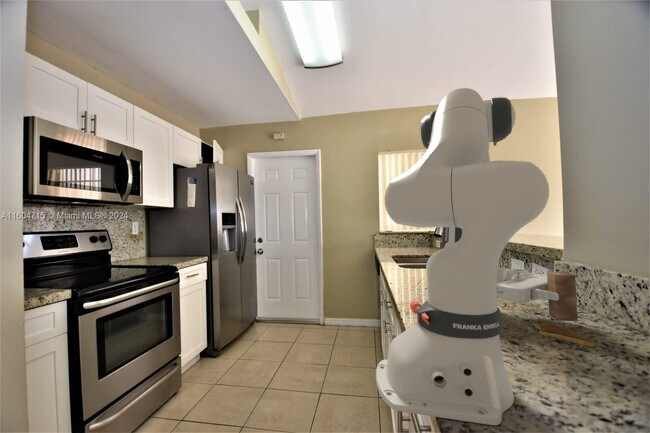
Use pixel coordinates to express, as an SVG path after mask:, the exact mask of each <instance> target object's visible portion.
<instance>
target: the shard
mask: <svg viewBox="0 0 650 433" xmlns="http://www.w3.org/2000/svg"><path fill="white" fill-rule="evenodd" d="M533 326H534V327H535V328H537V330H539V332H538V333H539V335H542V336H547V337H550V338H551V337H552V338H556V339H559V340H563V341H567V342H571V343H574V344H578V345H582V346H587V347H593V348H595V345H597V344H598V343H597V342H594V341H593V340H590V339H588V338H586V337H585V336H584V335H582V334H580V333H579V332H576V331H574V330H573V329H570V328H568V327H565V326H563V325H559V324H555V323H533Z"/></svg>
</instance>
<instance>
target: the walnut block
mask: <svg viewBox="0 0 650 433" xmlns="http://www.w3.org/2000/svg"><path fill="white" fill-rule="evenodd" d="M546 276H547V282H548V291H554V292H559V293H560V294H561V296H560V297H561V299H559V300H557V301H556V300H550V299H547V302H548V315H549V316H551V317H552V318H553V319H555V320H556V321H564V322H578V320H579V319H578V316H579V315H578V303H577V302H578V299H577V281H576V280H577V278H576V275H575V274H572V273H570V272H567V271H546Z"/></svg>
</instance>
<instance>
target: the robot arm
mask: <svg viewBox="0 0 650 433" xmlns="http://www.w3.org/2000/svg"><path fill="white" fill-rule="evenodd" d="M481 96H482V95H480V93H479V92H477V91H476V90H474V89H472V88H469V87H460V88H456V89H454V90H452V91H449V92H448V93H447V94H446V95H445V96H444V97H443V99H441V101H440V102H439V105H438V106H437V109H436V110H434V111H432V112H430V113H428V114H426V115H425V116H424V117H423V118H422V120H420V127H419V138H420V140H421V142H422V145H423V147H424V148H425V149H426V151H425V152H424V154H423V155H422V156H421V157H420V158H419V159H418V161H417V162H415V163H414V165H412V166H411V167H410V168H409V169H408V170H406V171H404V172H403V173H400V174H399V175H398V176H396V177H393V178H392V180H391V181H390V182H389V183H388V184H387V185H388V186H387V187H386V190H385V192H384V193H385V194H384V206H385V210H386V213H387V214H388V216H389V218H390V219H391V220H392V221H393V222H394V223H395V224H397V225H403V226H406V227H413V228H419V229H420V228H421V229H422V228H423V229H424V228H427V229H428V228H442V234H441V245H440V249H439V250H437V251H435V252H434V253H432V254H431V255H430V257H429V258H428V260H427V261H426V264H425V265H426V266H425V271H426V272H425V273H426V291H427V292H426V295H427V300H426V301H425V302H424V303H423V304H422V305H421V304H420V303H419V301H417V300H413V301H410V303H409V308H410V310H411V311H412V313H413V314H416V317H417V318H416V319H417V321H416V322H415V323H414V324H412V325H411V326H410V327H409V328H407V329H406V330H404V331H403V332H402V333H400V334H399V335H397V336H396V337H394V338H393V339H392V340H391V342H390V345H389V346H388V347H389V348H388V352H387V359H381V360H380V362H378V364H377V366H376V369H375V382H376V387H377V390H378V393H379V394H380V397H381V398H382V399H383V401H384V403H385V404H386V405H387V406H389V408H391V409H392V410H393V411H396V412H397V411H398V412H401V413H402V412H403V413H410V414H414V415H415V414H416V415H423V416H429V417H436V418H442V419H447V420H448V419H450V420H455V421H456V420H457V421H462V422H467V423H468V422H469V423H477V424H483V425H490V426H499V425H500V424H501V422H502V421H503V420H502V419H503V414H504V412H506V411H507V410H509V408H511V407H512V405H513V404H514V401H515V396H514V393H513V390H512V387H511V385H510V381H509V377H508V374H507V372H506V366H505V362H504V358H503V352H502V351H503V350H502V344H501V340H502V338H503V326H502V314H501V309H500V308H499V307H498V298H499V299H503V300H508V301H511V302H515V303H521V304H524V303H527V302H531V301H534V300H537V299H538V300H548V299H550V300H556V301H557V300H559V299H561V297H560V296H561V294H560V293H559V292H554V291H548V282H547V274H546V275H545V274H539V273H536V272H535V273H534V272H528V271H527V270H526V269H513V268H505V267H499V263H500V260H501V256H502V254H503V251H504V249H505V248H506V246H507V245H508V242H509V241H510V240H511V239H512V238H513V237H514V236H515V234H517V233H518V232H519V231H520V230H521V229H522V228H523V227H525V226H526V225H528V224H529V223H531V222H533V221H534V220H535V219H537V218H538V217H539V216H540V215H541V214H542V212H543V211H544V210H545V208H546V206H547V204H548V201H549V197H550V186H549V182H548V179H547V177H546V174H544V172H543V171H542V170H541V169H540V168H539V167H538V166H537V165H536V164H534V163H532V161H523V160H522V161H521V160H518V161H517V160H492V161H491V160H490V153H489V150H490V143H493V147H495V146H497V143H499V142H501V141H503V140H505V139H506V138H508V136H509V135H510V134H511V133H512V130H513V129H514V126H515V122H516V111H515V107H514V105H513V104H512V103H511V100H510V99H509V98H507V97H501V96H499V97H498V96H497V97H492V98H491V99H484V100H483V98H482V97H481Z"/></svg>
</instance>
